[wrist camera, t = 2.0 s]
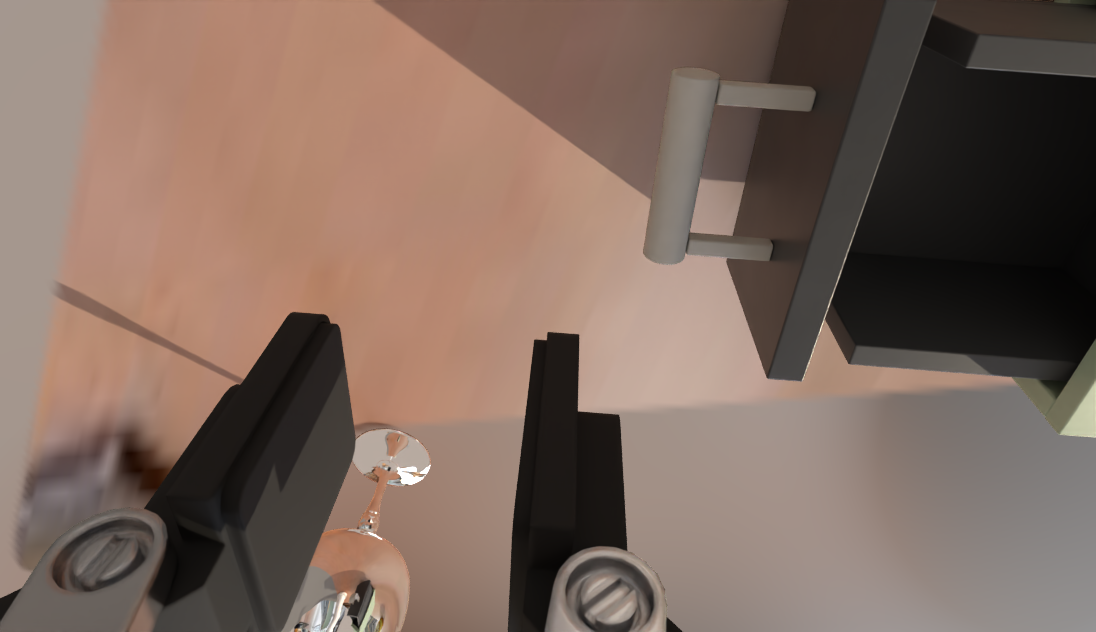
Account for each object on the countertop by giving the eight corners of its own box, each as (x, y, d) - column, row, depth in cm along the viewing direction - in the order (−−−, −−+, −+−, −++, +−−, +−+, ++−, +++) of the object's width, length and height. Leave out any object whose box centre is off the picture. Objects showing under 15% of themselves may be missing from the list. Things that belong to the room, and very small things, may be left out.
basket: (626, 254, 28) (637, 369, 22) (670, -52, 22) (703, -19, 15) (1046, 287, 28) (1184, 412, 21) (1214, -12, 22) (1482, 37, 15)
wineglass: (331, 416, 35) (230, 629, 25) (438, 422, 35) (379, 639, 25) (347, 490, 39) (263, 705, 29) (445, 496, 38) (395, 713, 29)
